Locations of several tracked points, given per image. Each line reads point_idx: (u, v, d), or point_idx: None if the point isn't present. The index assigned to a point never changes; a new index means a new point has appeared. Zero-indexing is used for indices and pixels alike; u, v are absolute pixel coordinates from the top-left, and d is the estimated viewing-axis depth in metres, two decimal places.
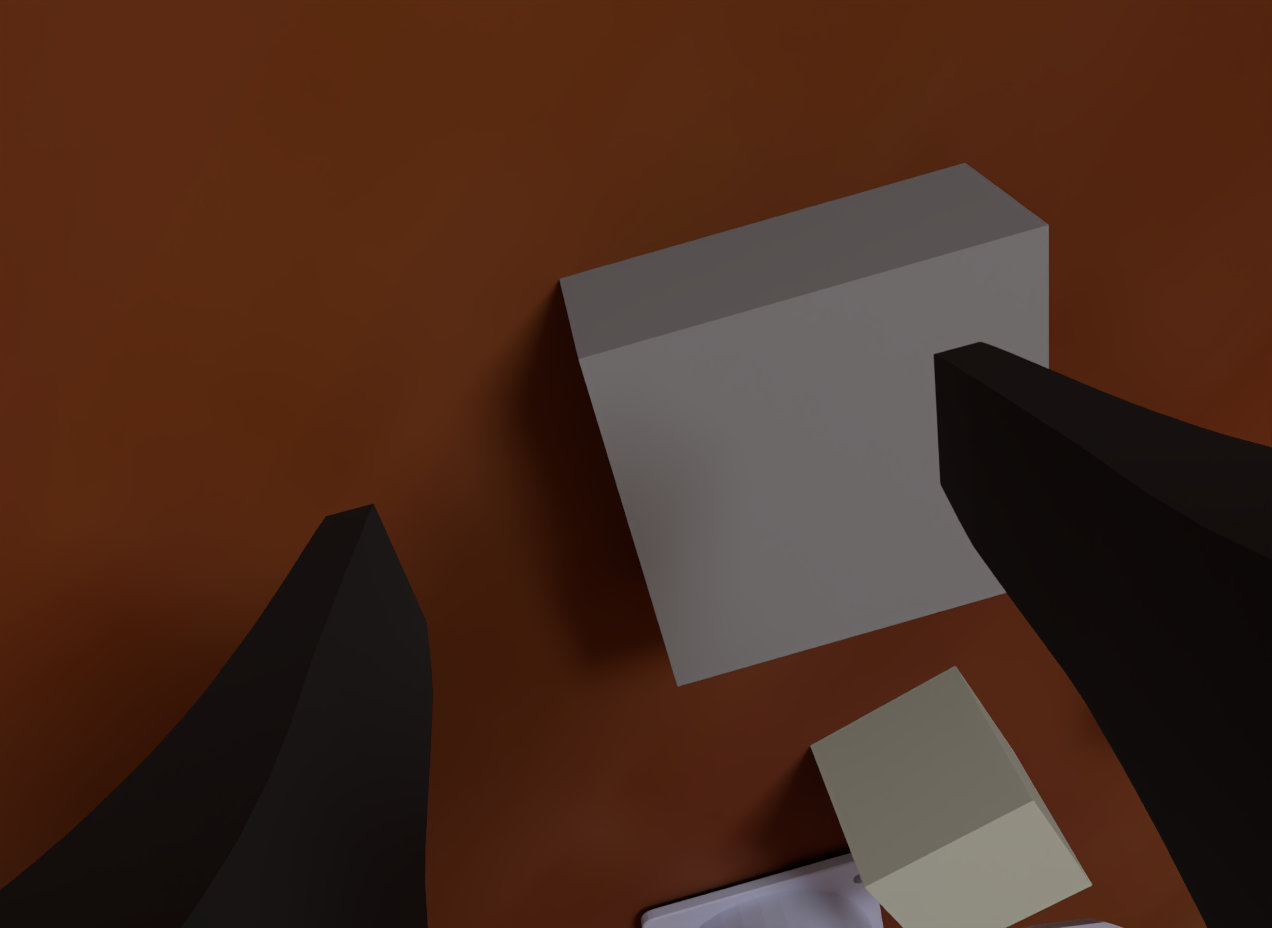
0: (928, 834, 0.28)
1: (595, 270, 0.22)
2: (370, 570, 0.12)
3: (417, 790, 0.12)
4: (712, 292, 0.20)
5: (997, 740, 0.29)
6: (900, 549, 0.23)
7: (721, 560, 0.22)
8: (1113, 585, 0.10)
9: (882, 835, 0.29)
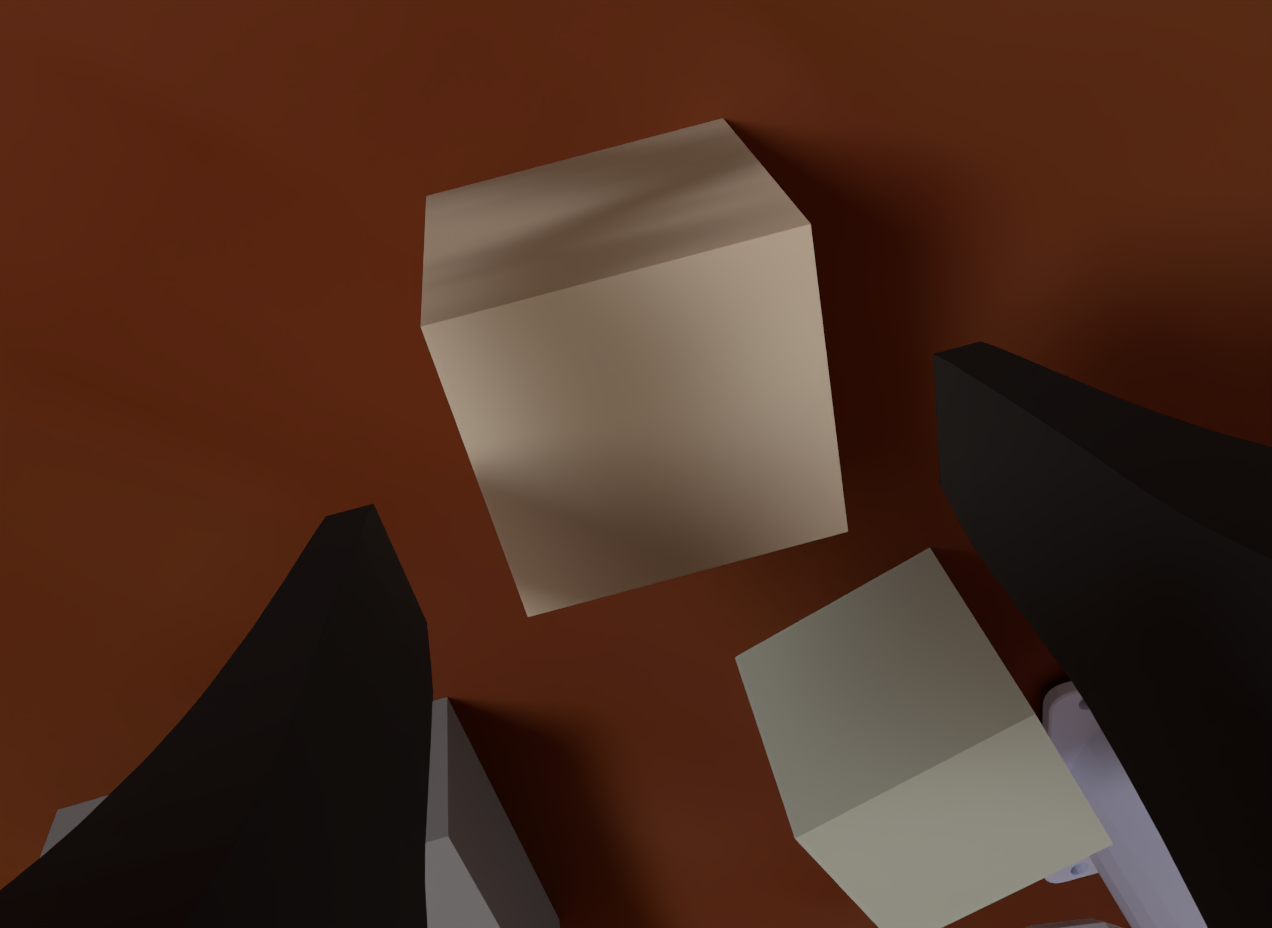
0: None
1: None
2: (370, 570, 0.12)
3: (417, 790, 0.12)
4: None
5: (768, 755, 0.21)
6: None
7: None
8: (1113, 585, 0.10)
9: None
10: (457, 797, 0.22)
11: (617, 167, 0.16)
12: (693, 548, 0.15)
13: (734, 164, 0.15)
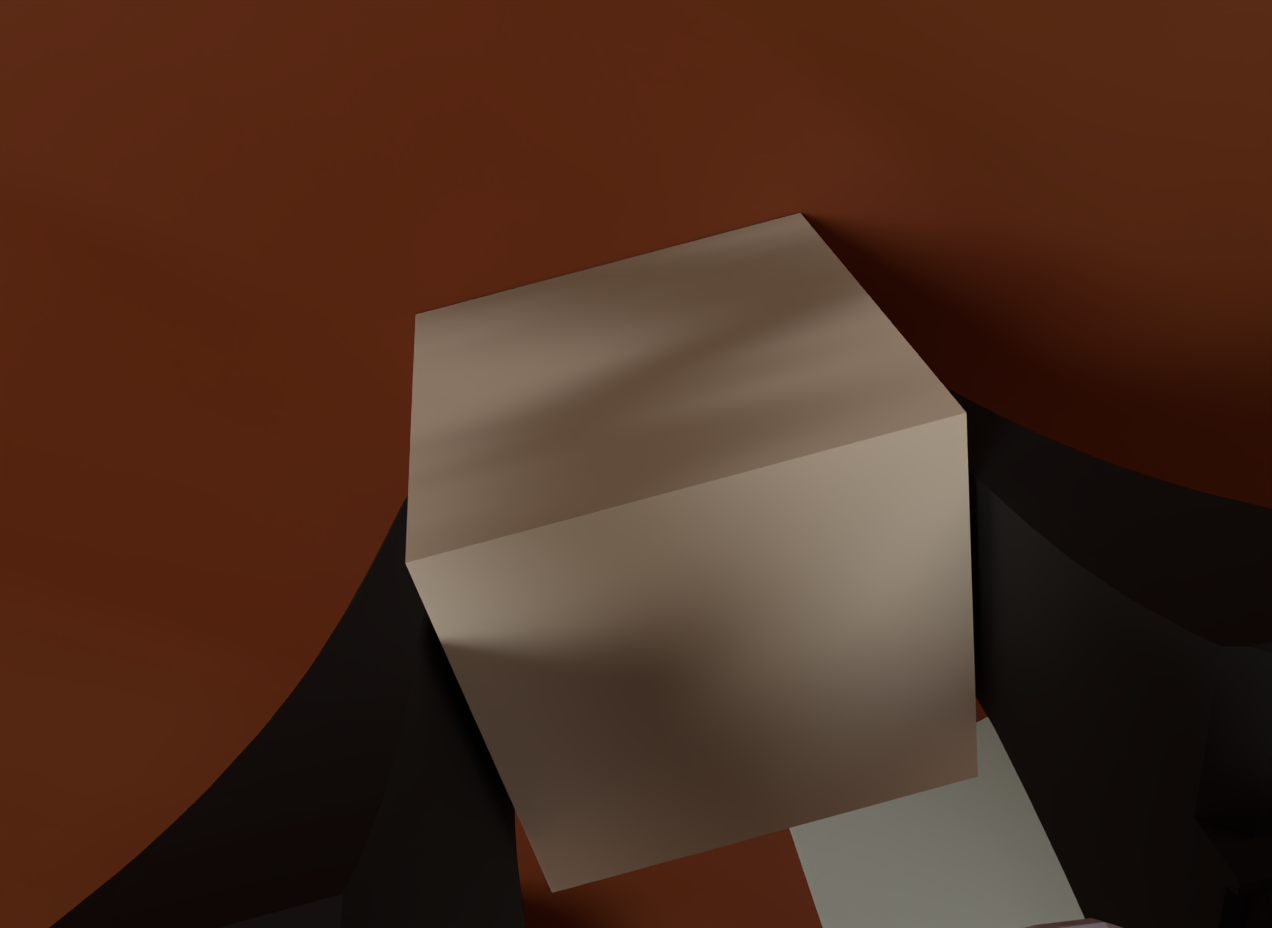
0: None
1: None
2: None
3: None
4: None
5: None
6: None
7: None
8: (1008, 614, 0.10)
9: None
10: None
11: (668, 287, 0.12)
12: (775, 805, 0.12)
13: (831, 293, 0.11)
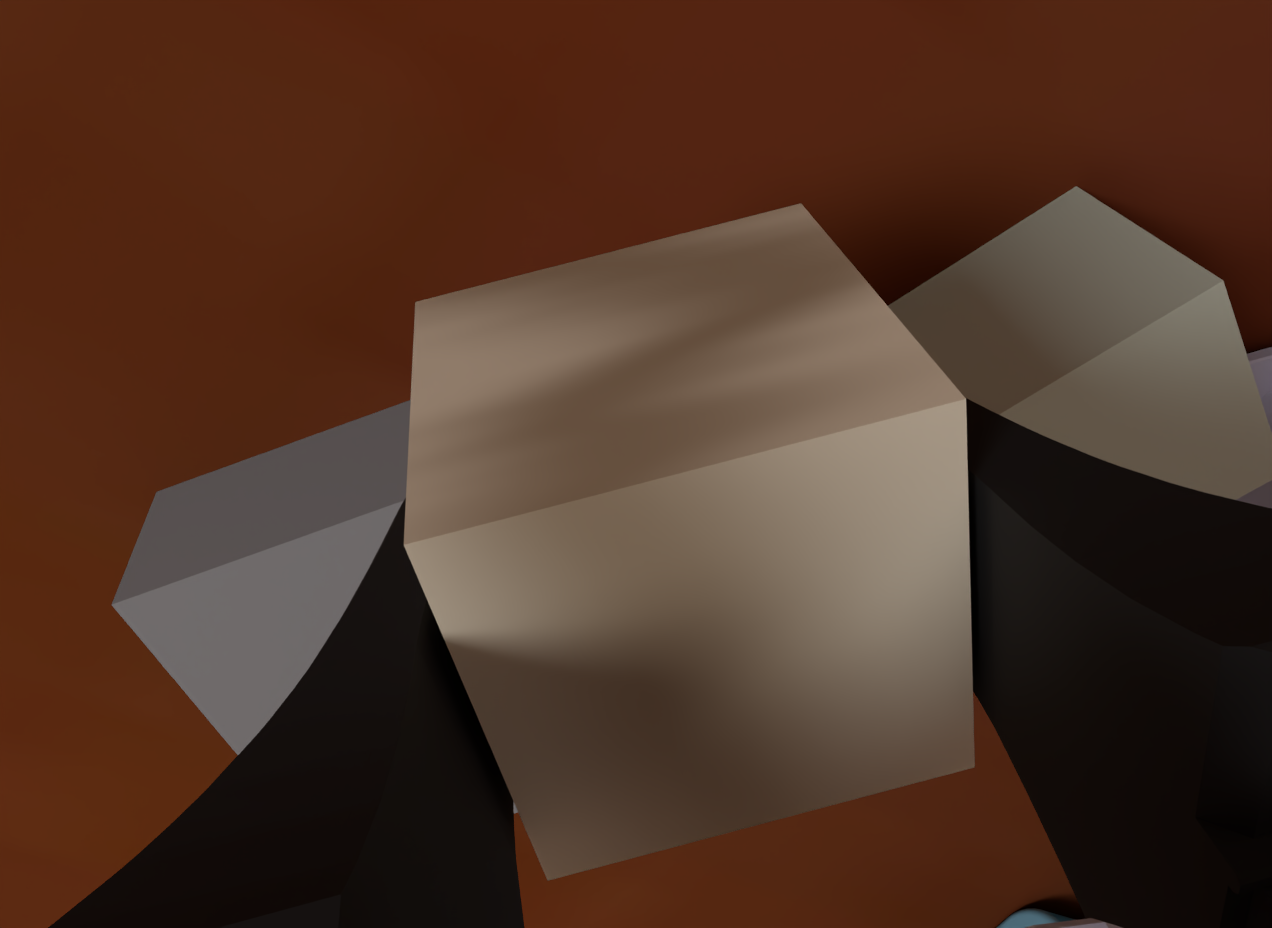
0: None
1: None
2: None
3: None
4: None
5: None
6: None
7: None
8: (1009, 613, 0.10)
9: None
10: None
11: (668, 276, 0.12)
12: (771, 794, 0.12)
13: (831, 282, 0.11)
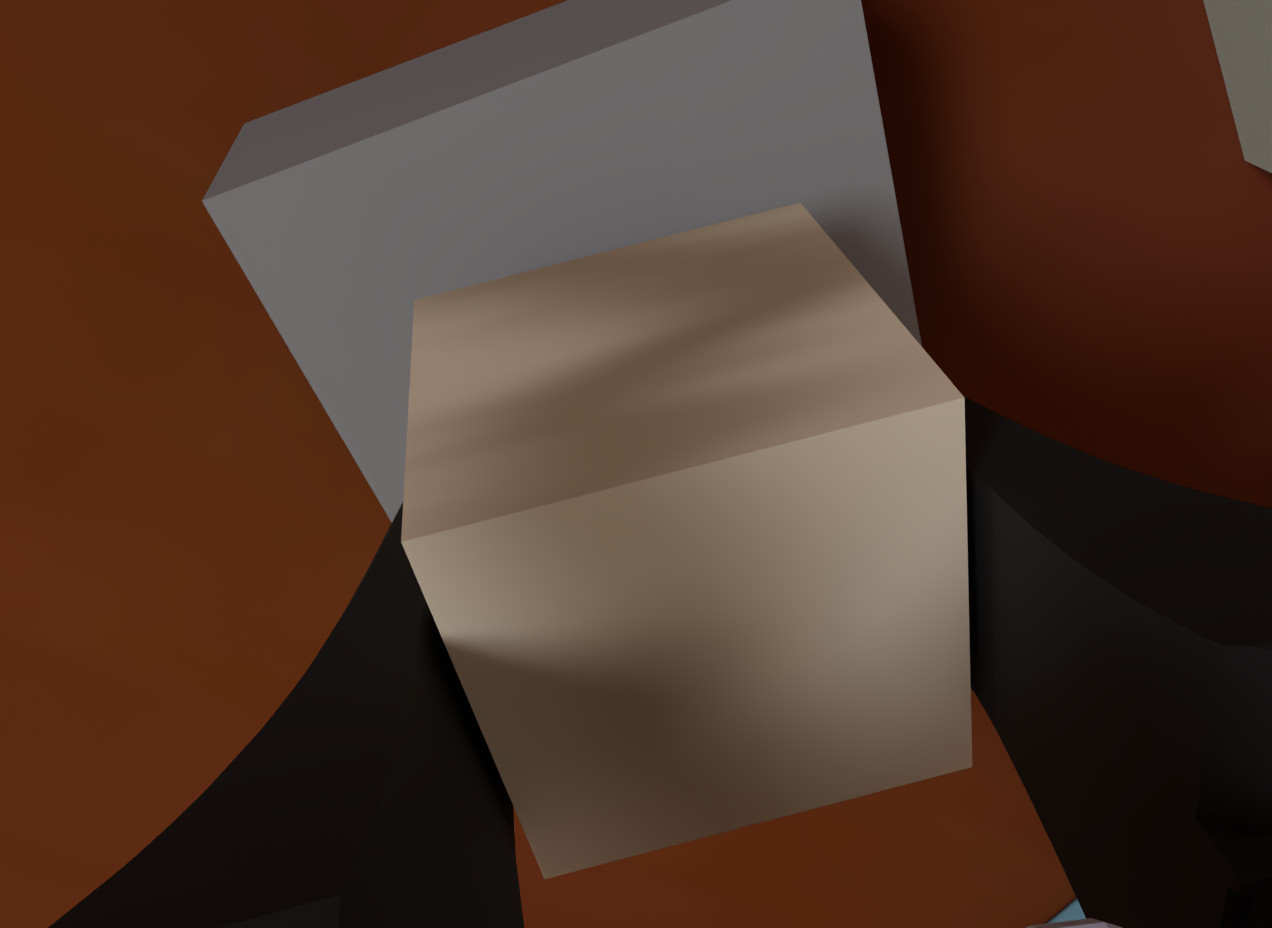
0: None
1: None
2: None
3: None
4: None
5: None
6: None
7: None
8: (1009, 613, 0.10)
9: None
10: None
11: (667, 274, 0.12)
12: (768, 794, 0.12)
13: (830, 281, 0.11)
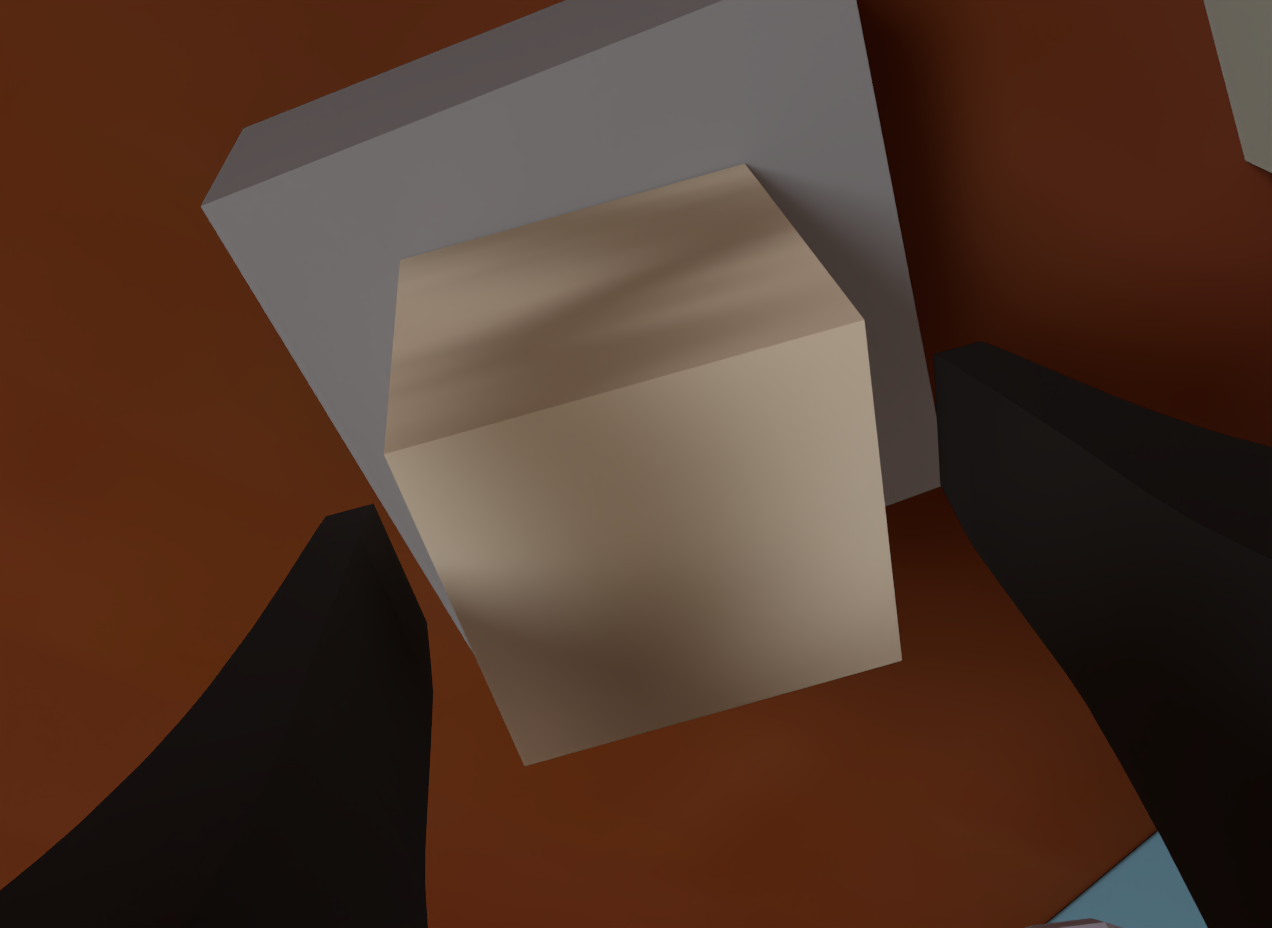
0: None
1: None
2: (370, 570, 0.12)
3: (417, 790, 0.12)
4: None
5: None
6: None
7: None
8: (1113, 585, 0.10)
9: None
10: None
11: (623, 229, 0.14)
12: (719, 685, 0.13)
13: (763, 229, 0.13)
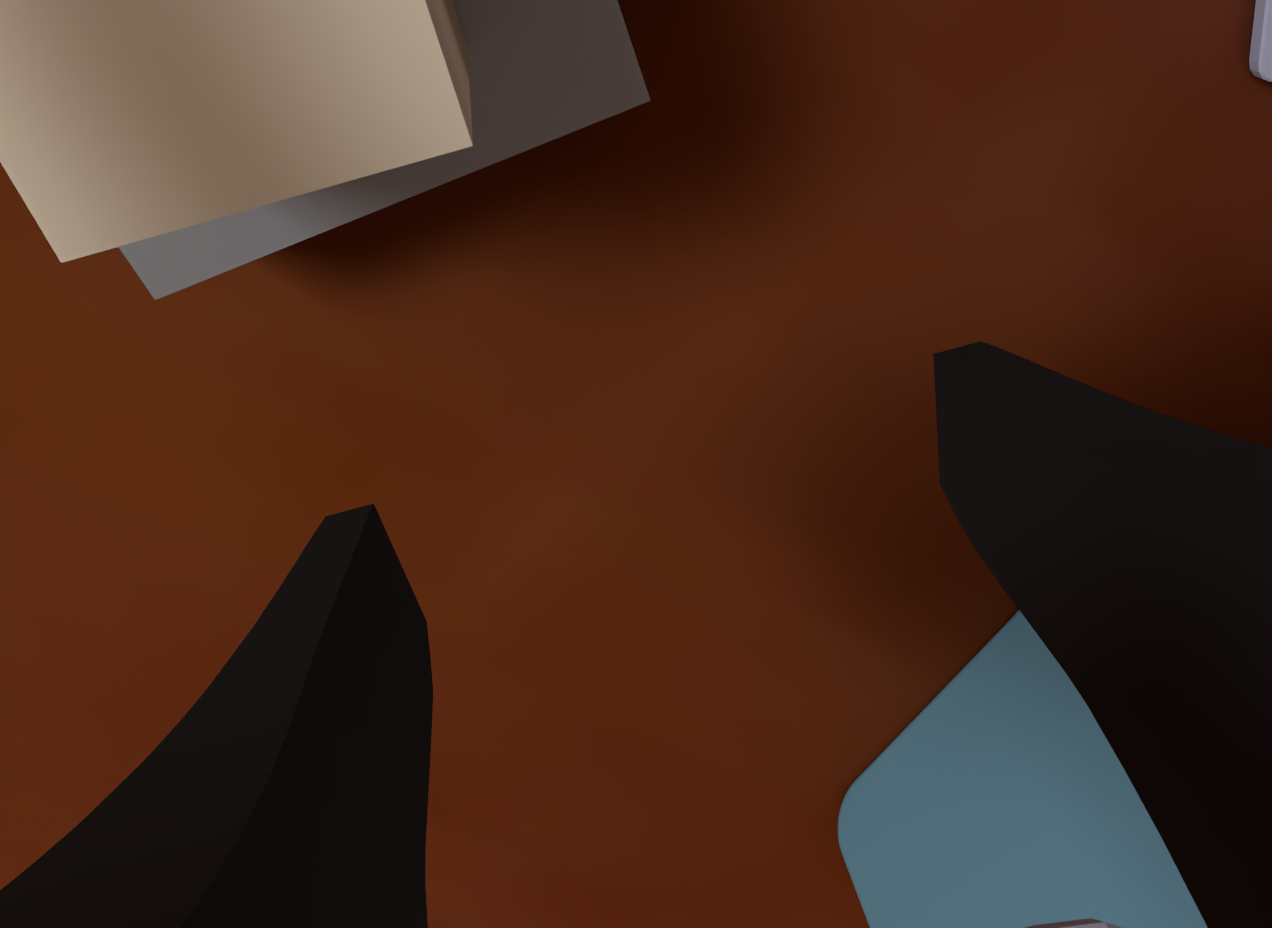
0: None
1: None
2: (370, 570, 0.12)
3: (417, 790, 0.12)
4: None
5: None
6: None
7: None
8: (1113, 585, 0.10)
9: None
10: None
11: None
12: (263, 162, 0.12)
13: None
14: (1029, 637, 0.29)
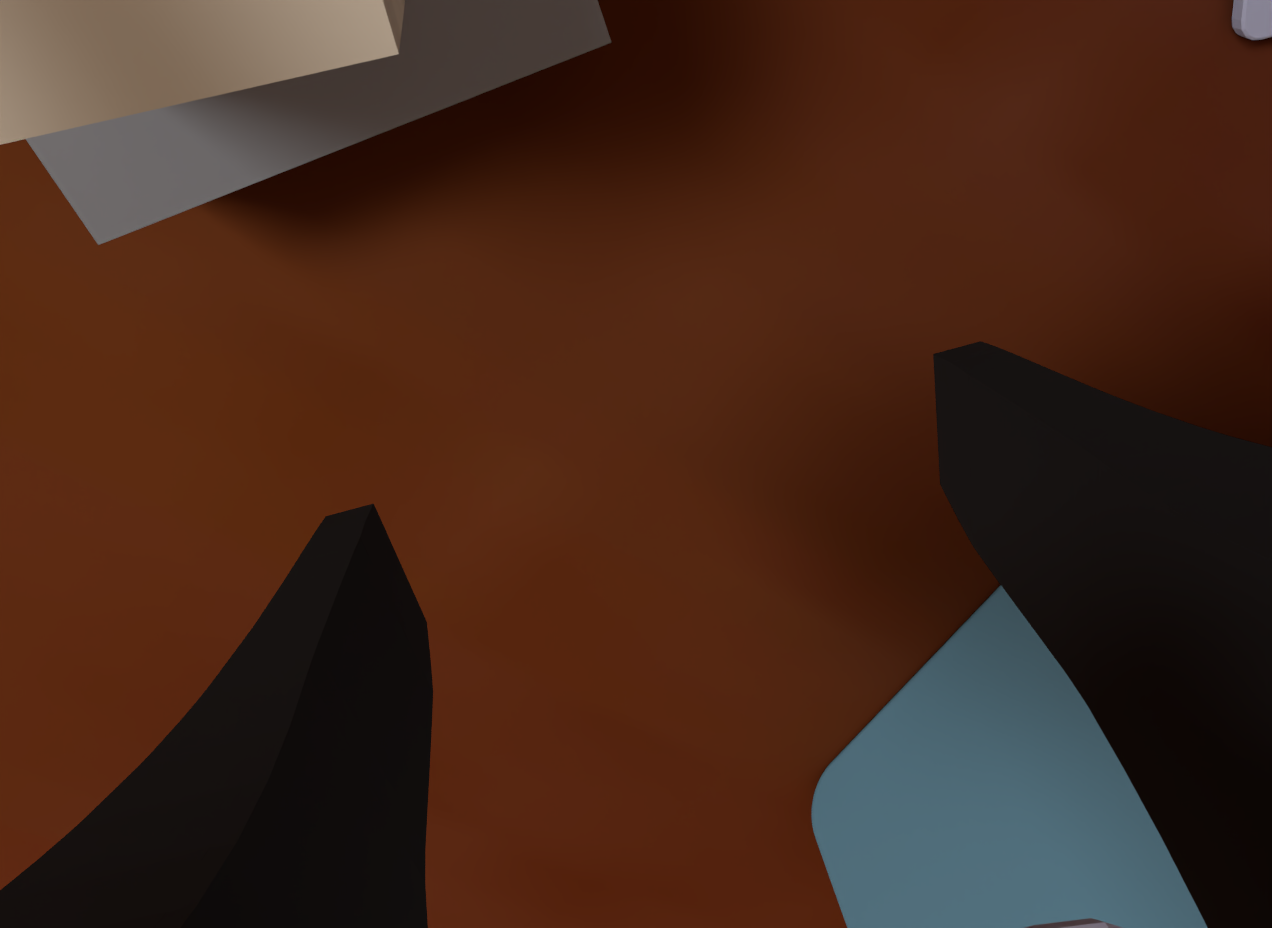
0: None
1: None
2: (370, 570, 0.12)
3: (417, 790, 0.12)
4: None
5: None
6: None
7: None
8: (1113, 585, 0.10)
9: None
10: None
11: None
12: (174, 58, 0.11)
13: None
14: (1006, 616, 0.29)
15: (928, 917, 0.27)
